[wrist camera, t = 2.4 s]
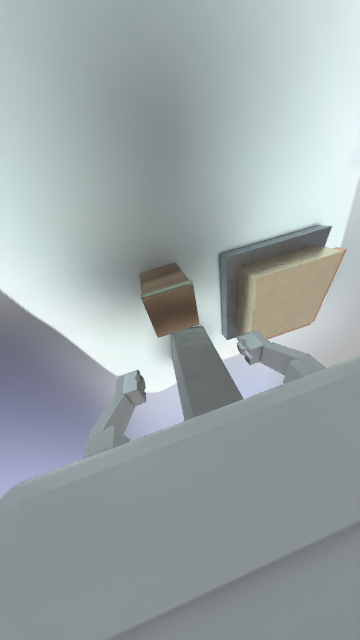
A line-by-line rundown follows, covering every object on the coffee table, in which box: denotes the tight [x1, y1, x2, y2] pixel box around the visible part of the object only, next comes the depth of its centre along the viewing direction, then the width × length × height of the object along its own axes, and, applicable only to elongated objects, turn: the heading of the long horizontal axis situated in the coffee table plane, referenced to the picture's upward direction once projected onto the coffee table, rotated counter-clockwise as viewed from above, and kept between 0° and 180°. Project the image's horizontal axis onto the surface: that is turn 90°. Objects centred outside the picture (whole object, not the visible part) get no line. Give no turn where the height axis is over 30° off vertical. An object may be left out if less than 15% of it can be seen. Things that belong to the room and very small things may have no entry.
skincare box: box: [172, 327, 243, 421], centre depth 24 cm, size 8×7×16 cm
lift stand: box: [219, 225, 346, 340], centre depth 25 cm, size 16×16×6 cm
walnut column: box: [140, 263, 199, 338], centre depth 19 cm, size 5×5×8 cm
